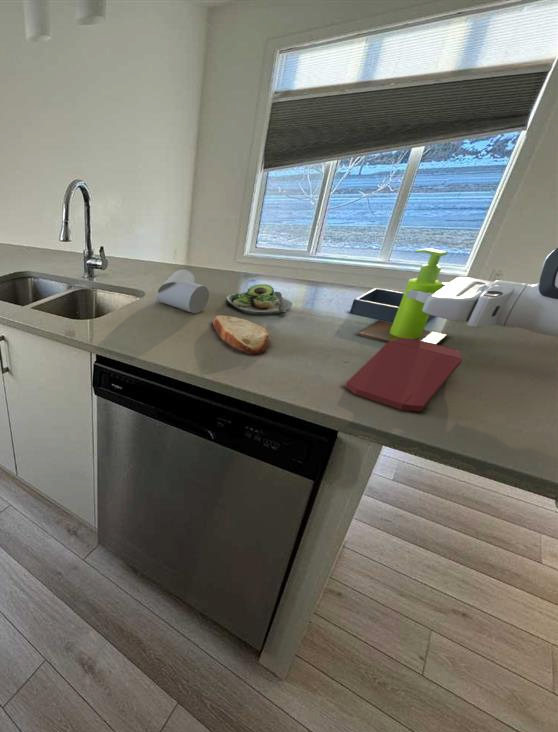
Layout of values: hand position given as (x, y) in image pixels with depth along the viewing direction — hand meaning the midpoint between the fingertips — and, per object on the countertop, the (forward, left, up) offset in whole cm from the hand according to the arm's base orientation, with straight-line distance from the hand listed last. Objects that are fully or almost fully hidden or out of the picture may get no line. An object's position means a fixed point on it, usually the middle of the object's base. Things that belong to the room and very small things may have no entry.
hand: (414, 289), depth 94 cm
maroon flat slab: (-9, +23, -12) cm, 27 cm away
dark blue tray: (+6, -15, -12) cm, 20 cm away
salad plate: (+35, +2, -12) cm, 37 cm away
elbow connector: (+54, +15, -12) cm, 57 cm away
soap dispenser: (-1, 0, -11) cm, 11 cm away
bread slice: (+26, +27, -12) cm, 39 cm away
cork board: (-1, 0, -12) cm, 12 cm away
